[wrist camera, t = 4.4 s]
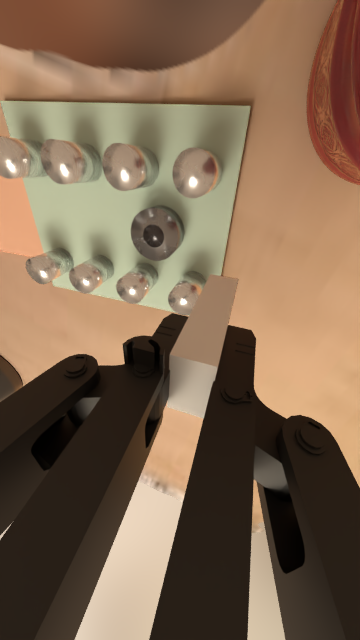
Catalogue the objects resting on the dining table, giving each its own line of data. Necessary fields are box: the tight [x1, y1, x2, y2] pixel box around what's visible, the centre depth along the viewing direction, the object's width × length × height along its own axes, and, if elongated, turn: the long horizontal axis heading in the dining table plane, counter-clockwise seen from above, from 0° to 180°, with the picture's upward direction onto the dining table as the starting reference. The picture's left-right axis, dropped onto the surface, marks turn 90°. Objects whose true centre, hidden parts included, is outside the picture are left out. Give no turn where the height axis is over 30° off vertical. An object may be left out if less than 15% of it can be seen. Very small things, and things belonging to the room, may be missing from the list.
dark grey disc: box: [131, 205, 184, 261], centre depth 23 cm, size 5×5×2 cm
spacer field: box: [0, 101, 251, 315], centre depth 26 cm, size 24×20×1 cm
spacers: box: [0, 136, 223, 315], centre depth 24 cm, size 21×14×4 cm
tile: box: [0, 175, 44, 257], centre depth 29 cm, size 10×12×1 cm
